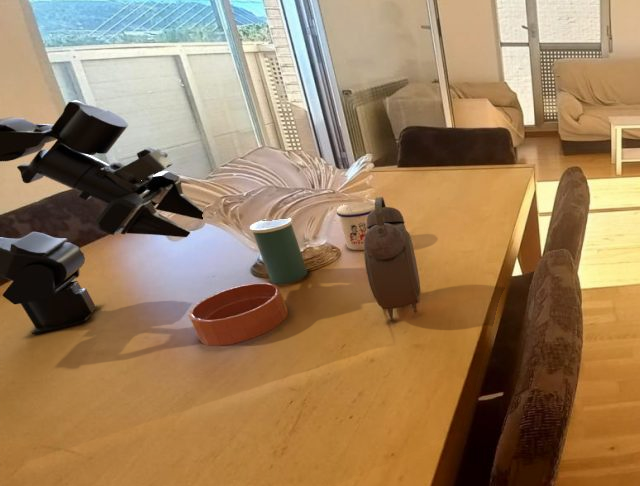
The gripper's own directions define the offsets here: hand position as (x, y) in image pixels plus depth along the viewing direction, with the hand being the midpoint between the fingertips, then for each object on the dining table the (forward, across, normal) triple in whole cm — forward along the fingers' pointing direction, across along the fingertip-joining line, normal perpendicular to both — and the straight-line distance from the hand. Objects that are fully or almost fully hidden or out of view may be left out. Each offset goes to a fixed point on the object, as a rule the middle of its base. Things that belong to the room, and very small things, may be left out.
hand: (198, 225), depth 86 cm
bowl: (+15, -17, +4) cm, 23 cm away
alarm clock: (+32, -22, -12) cm, 41 cm away
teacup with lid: (+28, +12, -9) cm, 32 cm away
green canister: (+17, 0, +2) cm, 17 cm away
